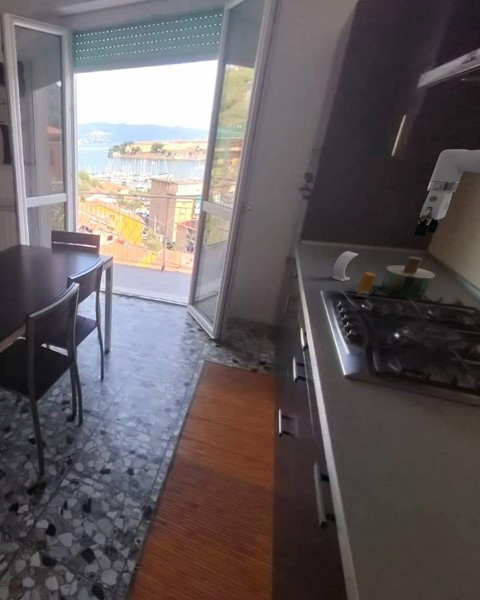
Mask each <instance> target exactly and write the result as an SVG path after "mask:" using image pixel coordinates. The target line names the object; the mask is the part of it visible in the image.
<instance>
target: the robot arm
mask: <svg viewBox="0 0 480 600" xmlns="http://www.w3.org/2000/svg"><path fill="white" fill-rule="evenodd" d="M464 172H468V173H475V174H480V149H473V150H469V149H464V148H463V149H461V148H460V149H459V148H458V149H457V148H456V149H455V148H454V149H453V148H452V149H451V148H449V149H443V151H441V152H440V153H439V156H438V159H437V161H436V163H435V167H434V170H433V172H432V175H431V178H430V179H429V180H430V181H429V183H428V186H427V188H426V191H428V194H427V197H426V199H425V201H424V203H423V205H422V208H421V211H420V213H419V220H418V221H417V222H418V223H417V225H416V227H415V231H414V233H413V235H414V236H417V237H426V235H427V233H431V234H434V233H436V231H437V229H438V226H439V224H440V221H441V219H444V218H445V217H446V215H447V212H448V209H449V206H450V203H451V200H452V197H453V193H455V192H456V191H457V189H458V186H459V184H460V181H461V178H462V176H463V173H464Z"/></svg>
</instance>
